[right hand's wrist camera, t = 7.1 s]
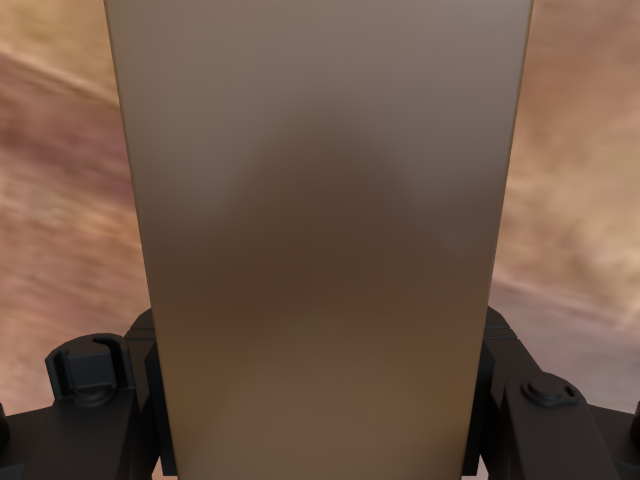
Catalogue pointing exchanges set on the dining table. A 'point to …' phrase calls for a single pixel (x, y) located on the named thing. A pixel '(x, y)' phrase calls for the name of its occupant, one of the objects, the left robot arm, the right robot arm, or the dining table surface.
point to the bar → (319, 223)
